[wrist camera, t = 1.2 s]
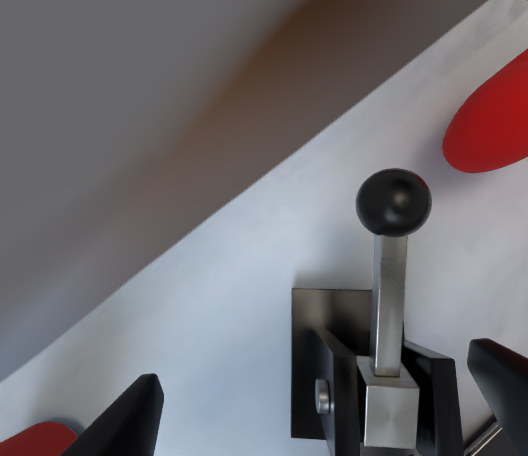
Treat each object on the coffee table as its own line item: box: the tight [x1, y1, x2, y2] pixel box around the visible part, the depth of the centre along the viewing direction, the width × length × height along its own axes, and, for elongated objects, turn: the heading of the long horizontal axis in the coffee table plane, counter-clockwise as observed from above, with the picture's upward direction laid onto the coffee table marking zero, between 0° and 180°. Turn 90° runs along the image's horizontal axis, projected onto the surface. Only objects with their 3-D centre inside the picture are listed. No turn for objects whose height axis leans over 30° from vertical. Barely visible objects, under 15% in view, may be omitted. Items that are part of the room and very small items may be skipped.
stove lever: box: [356, 168, 432, 449], centre depth 13 cm, size 12×3×3 cm, turn 178°
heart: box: [442, 49, 528, 173], centre depth 20 cm, size 12×5×10 cm, turn 129°
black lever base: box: [291, 288, 464, 456], centre depth 17 cm, size 10×8×10 cm
